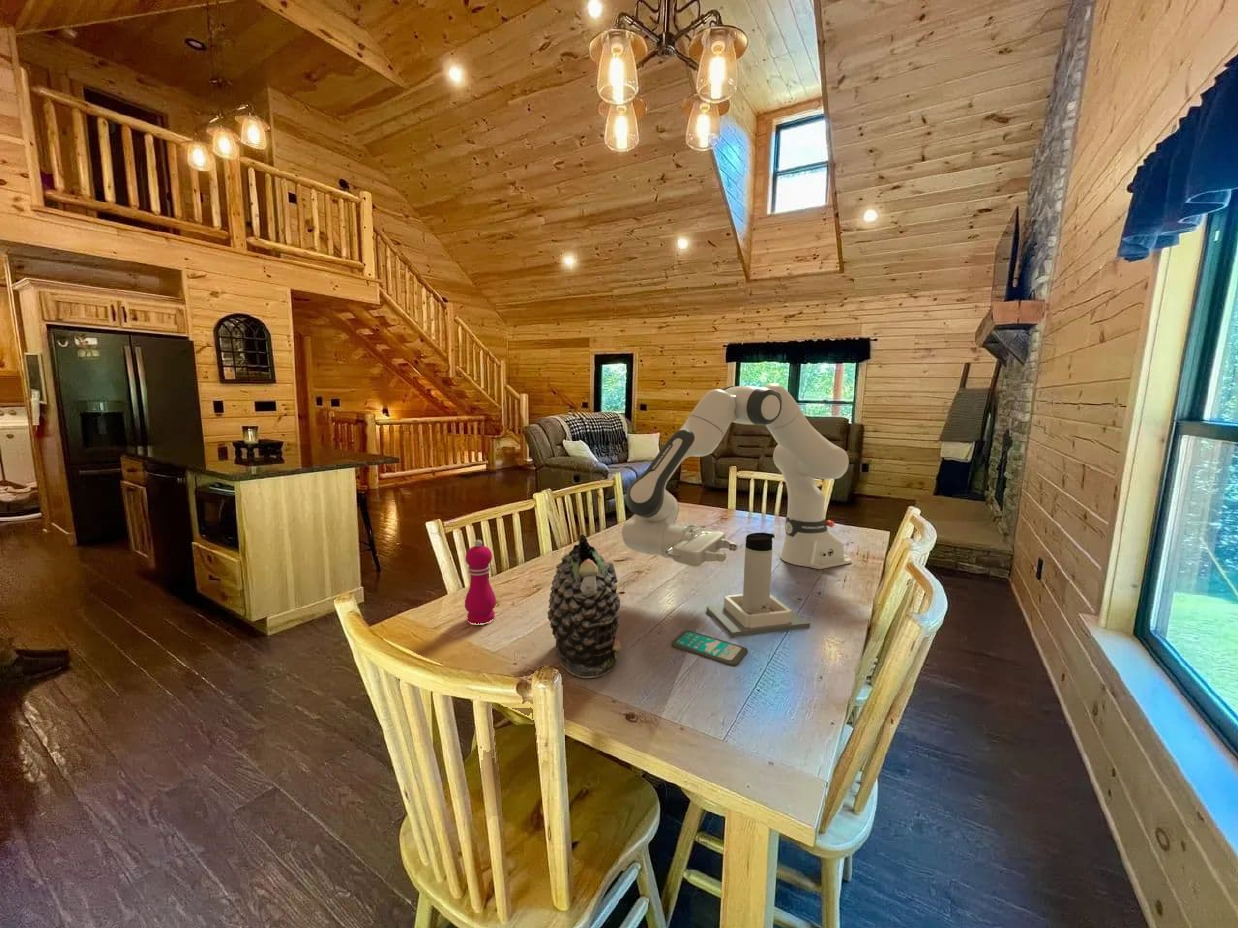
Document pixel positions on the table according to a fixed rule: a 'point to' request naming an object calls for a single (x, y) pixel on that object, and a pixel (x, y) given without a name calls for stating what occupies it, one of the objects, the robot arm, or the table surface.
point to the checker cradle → (755, 618)
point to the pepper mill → (479, 585)
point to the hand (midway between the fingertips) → (731, 552)
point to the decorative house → (585, 612)
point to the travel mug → (757, 573)
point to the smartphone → (710, 648)
